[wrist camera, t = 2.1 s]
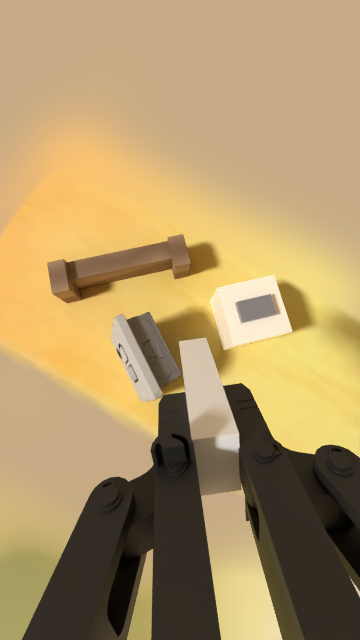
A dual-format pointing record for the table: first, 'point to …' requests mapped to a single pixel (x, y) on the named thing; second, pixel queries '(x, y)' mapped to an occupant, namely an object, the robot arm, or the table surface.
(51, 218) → the table surface
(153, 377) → the electrical switch
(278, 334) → the socket block
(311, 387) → the table surface
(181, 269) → the bracket
